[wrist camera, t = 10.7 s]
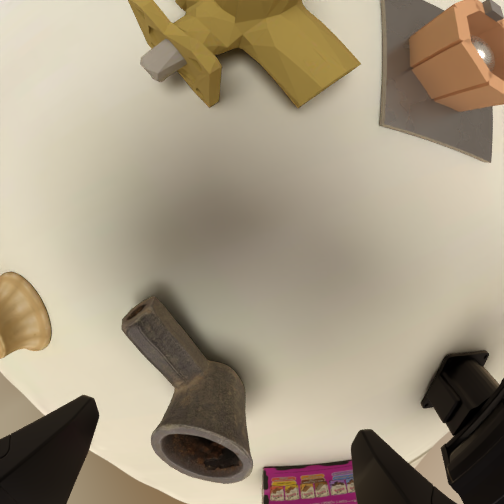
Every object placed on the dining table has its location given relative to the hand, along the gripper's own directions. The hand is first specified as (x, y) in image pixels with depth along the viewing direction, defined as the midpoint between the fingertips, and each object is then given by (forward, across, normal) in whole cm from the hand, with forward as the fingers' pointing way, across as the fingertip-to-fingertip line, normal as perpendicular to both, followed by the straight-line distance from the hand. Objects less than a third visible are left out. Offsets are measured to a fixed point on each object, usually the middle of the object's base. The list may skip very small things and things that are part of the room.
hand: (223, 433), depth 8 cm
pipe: (+12, +3, +7) cm, 14 cm away
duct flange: (+12, -12, -18) cm, 25 cm away
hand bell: (+12, +21, +6) cm, 25 cm away
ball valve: (+12, +2, -16) cm, 20 cm away
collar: (+11, -12, -18) cm, 25 cm away
